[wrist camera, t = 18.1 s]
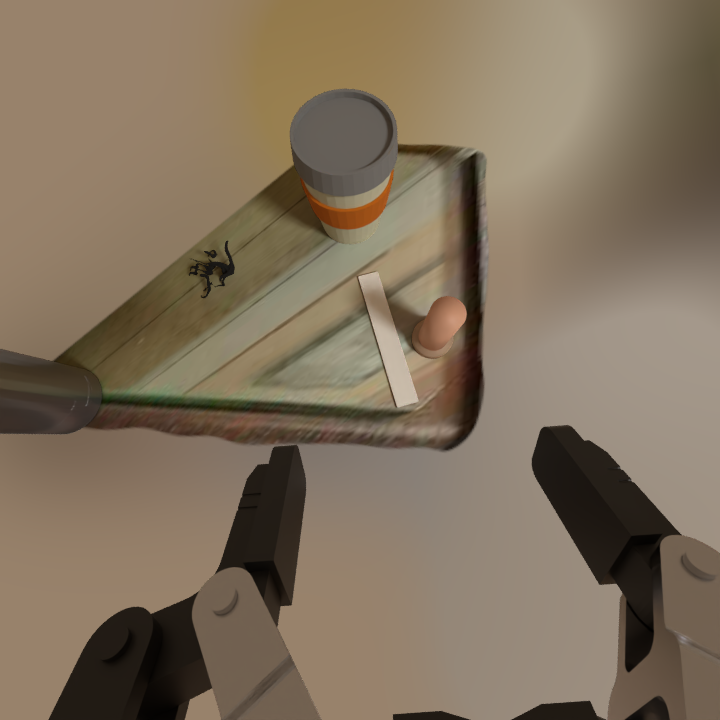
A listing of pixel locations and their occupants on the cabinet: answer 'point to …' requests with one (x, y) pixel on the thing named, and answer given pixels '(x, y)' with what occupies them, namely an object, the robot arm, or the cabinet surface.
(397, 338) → the strip
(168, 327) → the cabinet surface
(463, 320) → the pin
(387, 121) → the reusable coffee cup
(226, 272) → the creature
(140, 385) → the cabinet surface
